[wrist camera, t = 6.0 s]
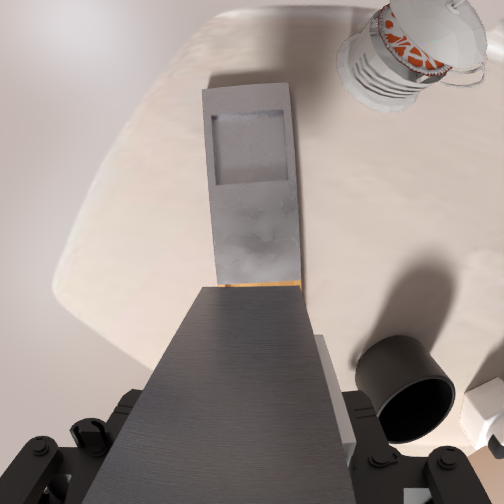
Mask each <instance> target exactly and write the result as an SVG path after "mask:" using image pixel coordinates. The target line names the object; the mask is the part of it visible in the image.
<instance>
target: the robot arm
mask: <svg viewBox="0 0 504 504" xmlns="http://www.w3.org/2000/svg"><path fill="white" fill-rule="evenodd" d="M314 337H315V341H316V345H317V348H318V352H319V355H320V359H321V363H322V366H323V370H324V374H325V378H326V381H327V385H328V389H329V393H330V397H331V400H332V404H333V408H334V412H335V416H336V420H337V424H338V428H339V432H340V436H341V440H342V444H343V448H344V452H345V457H346V461H347V465H348V469H349V474H350V478H351V482H352V487H353V491H354V496H355V500H356V504H492V503H491V501H490V499H489V497H488V495H487V493H486V492H485V489H484V488H483V486H482V484H481V482H480V480H479V478H478V477H477V475H476V473H475V471H474V469H473V467H472V466H471V464H470V462H469V460H468V458H467V457H466V455H465V454H464V453H463V452H462V451H461V450H460V449H458V448H456V447H452V446H441V447H438V448H436V449H434V450H433V451H432V452H431V453H430V454H429V456H428V457H411V456H405V455H402V454H401V453H400V452H399V451H398V450H397V449H396V448H394V447H392V446H390V445H389V443H388V441H387V439H386V436H385V434H384V431H383V429H382V426H381V424H380V421H379V419H378V416H377V414H376V412H375V409H374V407H373V404H372V402H371V400H370V398H369V397H368V396H367V395H366V394H365V393H364V392H363V391H361V390H358V391H348V392H341V390H340V386H339V383H338V380H337V377H336V374H335V371H334V368H333V364H332V361H331V358H330V355H329V352H328V349H327V346H326V343H325V340H324V337H323V335H314ZM142 391H143V390H136V389H132V390H130V391H129V392H127V393H126V394H125V395H123V397H122V398H121V400H120V401H119V403H118V406H116V408H115V409H114V412H113V413H112V414H111V416H110V417H109V419H108V421H107V422H106V423H105V422H104V421H102V420H100V419H96V418H86V419H83V420H80V421H78V422H76V423H75V424H74V425H72V427H71V429H70V432H71V435H72V437H73V439H74V441H75V443H76V444H77V447H58V445H57V443H56V442H55V441H54V439H52V438H50V437H48V436H38V437H35V438H32V439H30V440H29V441H28V442H27V443H26V444H25V446H24V447H23V448H22V450H21V451H20V452H19V453H18V455H17V456H16V457H15V459H14V460H13V461H12V463H11V464H10V465H9V467H8V468H7V469H6V471H5V472H4V473H3V475H2V476H1V477H0V504H82V502H83V500H84V498H85V496H86V494H87V492H88V490H89V488H90V487H91V485H92V483H93V481H94V479H95V477H96V475H97V473H98V471H99V470H100V468H101V466H102V464H103V462H104V460H105V458H106V457H107V455H108V453H109V451H110V449H111V447H112V445H113V444H114V442H115V440H116V438H117V436H118V434H119V433H120V431H121V429H122V427H123V425H124V424H125V422H126V420H127V418H128V416H129V414H130V413H131V411H132V409H133V407H134V405H135V404H136V402H137V400H138V398H139V397H140V395H141V393H142ZM46 487H47V489H46V490H45V488H46ZM44 490H45V491H44Z"/></svg>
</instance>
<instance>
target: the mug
mask: <svg viewBox="0 0 504 504" xmlns="http://www.w3.org/2000/svg"><path fill="white" fill-rule="evenodd" d="M355 382H356V386H357V388H358V390H361V391H363V392H364V393H365V394H366V395H367V396H368V397H369V398H370V400H371V402H372V404H373V407H374V409H375V412H376V414H377V416H378V419H379V421H380V424H381V426H382V429H383V431H384V434H385V436H386V439H387V441H388V443H390V444H403V443H408V442H411V441H414V440H417V439H419V438H421V437H423V436H425V435H427V434H428V433H430V432H431V431H432V430H434V429H435V428H436V427H437V426H438V425H439V424H440V423H441V422H442V421H443V420H444V419H445V418H446V416H447V415H448V414H449V412H450V410H451V408H452V406H453V404H454V400H455V387H454V384H453V382H452V381H451V380H450V379H449V377H448V376H447V375H446V374H445V372H444V371H443V370H442V369H441V367H440V366H439V365H438V364H437V363H436V361H435V360H434V359H433V358H432V357H431V355H430V354H429V353H428V352H427V351H426V349H425V348H424V347H423V346H422V345H421V344H420V342H418V341H417V340H416V339H414V338H412V337H408V336H393V337H389V338H386V339H384V340H382V341H380V342H378V343H377V344H375V345H374V346H372V347H371V348H370V349H369V350H368V351H367V352H366V353H365V354H364V356H363V357H362V358H361V360H360V362H359V364H358V367H357V370H356V374H355Z"/></svg>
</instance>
